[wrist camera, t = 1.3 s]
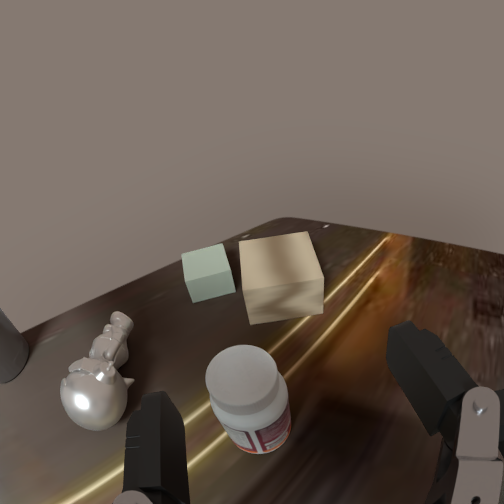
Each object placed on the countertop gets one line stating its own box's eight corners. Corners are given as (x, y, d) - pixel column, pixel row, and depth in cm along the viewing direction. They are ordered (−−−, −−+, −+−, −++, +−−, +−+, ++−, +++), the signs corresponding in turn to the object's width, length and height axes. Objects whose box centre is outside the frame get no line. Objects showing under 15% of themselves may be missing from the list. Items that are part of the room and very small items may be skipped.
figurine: (113, 287, 36) (59, 382, 22) (165, 320, 38) (132, 423, 24) (87, 336, 40) (43, 420, 26) (132, 363, 42) (101, 452, 28)
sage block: (192, 303, 43) (185, 281, 41) (188, 274, 48) (181, 254, 45) (235, 291, 44) (230, 269, 41) (227, 264, 49) (222, 243, 46)
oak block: (250, 324, 39) (242, 290, 35) (245, 275, 46) (239, 241, 42) (322, 313, 39) (324, 277, 35) (308, 265, 46) (307, 231, 42)
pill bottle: (290, 398, 31) (283, 334, 24) (292, 454, 26) (287, 409, 19) (230, 401, 31) (203, 339, 24) (227, 455, 26) (193, 411, 19)
